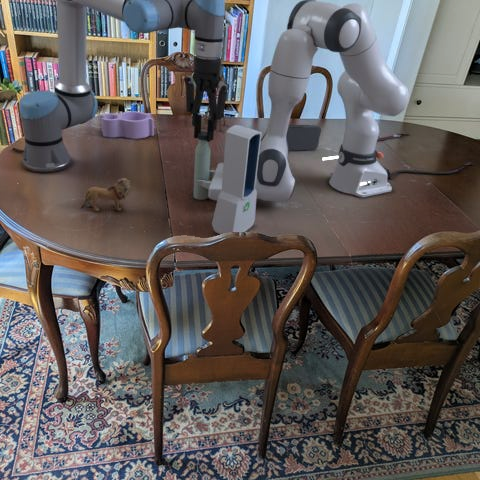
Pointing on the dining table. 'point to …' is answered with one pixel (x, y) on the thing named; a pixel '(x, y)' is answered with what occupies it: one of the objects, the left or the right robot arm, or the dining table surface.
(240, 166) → the electronic device
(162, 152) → the dining table surface
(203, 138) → the cap
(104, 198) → the lion figurine
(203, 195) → the bottle
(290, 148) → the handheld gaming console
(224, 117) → the eiffel tower model
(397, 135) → the sword
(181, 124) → the dining table surface
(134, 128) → the clip
